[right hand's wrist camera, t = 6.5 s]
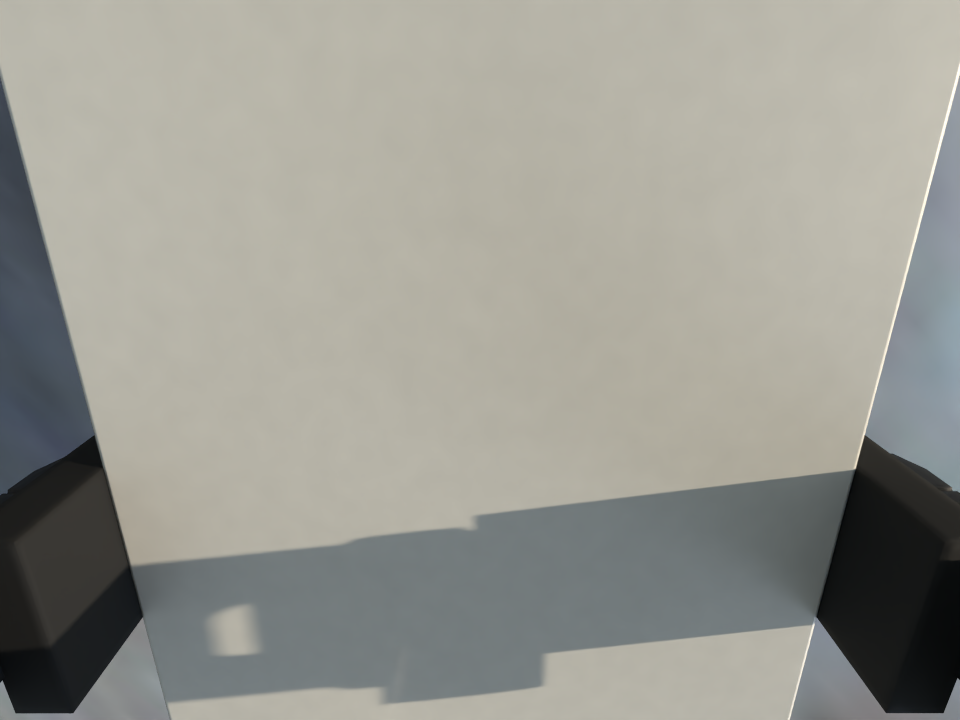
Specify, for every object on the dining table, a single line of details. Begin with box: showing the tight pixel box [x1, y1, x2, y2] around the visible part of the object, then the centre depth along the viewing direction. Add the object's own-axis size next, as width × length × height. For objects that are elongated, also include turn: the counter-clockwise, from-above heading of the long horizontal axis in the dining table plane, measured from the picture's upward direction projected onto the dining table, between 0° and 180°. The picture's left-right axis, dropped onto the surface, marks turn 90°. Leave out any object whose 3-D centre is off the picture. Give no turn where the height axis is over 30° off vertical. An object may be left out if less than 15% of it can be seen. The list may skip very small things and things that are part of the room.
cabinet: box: [0, 0, 960, 720], centre depth 11 cm, size 21×11×10 cm, turn 0°
